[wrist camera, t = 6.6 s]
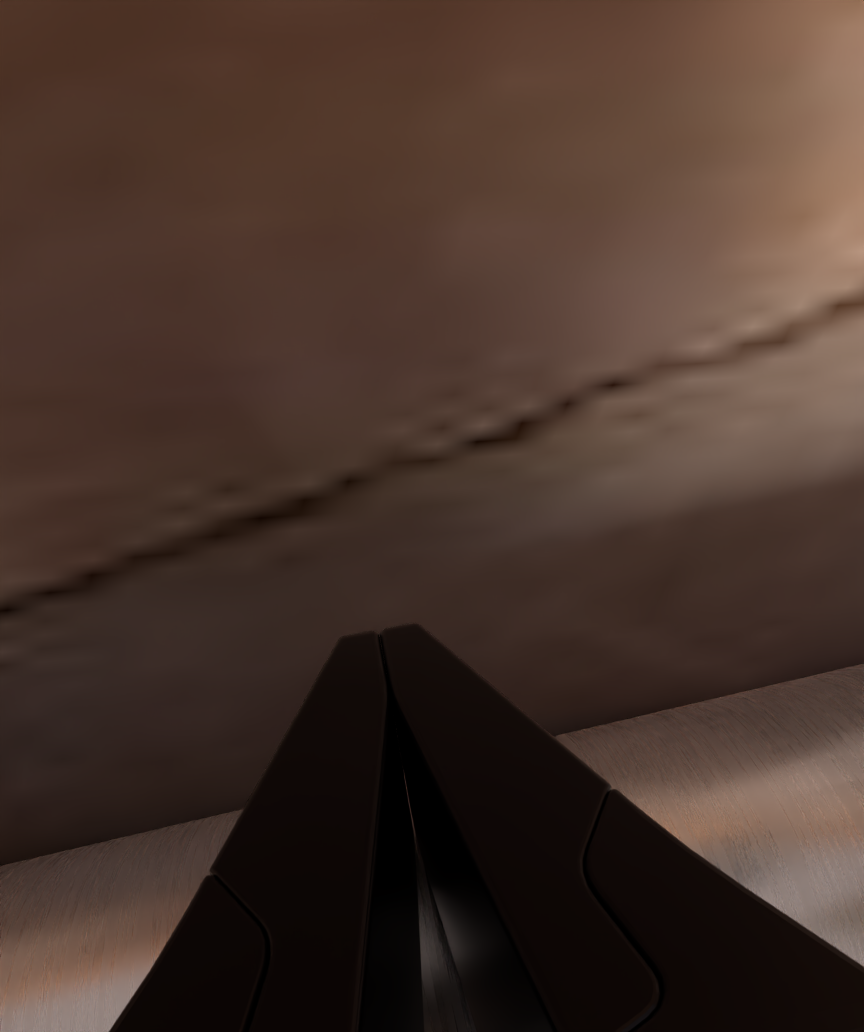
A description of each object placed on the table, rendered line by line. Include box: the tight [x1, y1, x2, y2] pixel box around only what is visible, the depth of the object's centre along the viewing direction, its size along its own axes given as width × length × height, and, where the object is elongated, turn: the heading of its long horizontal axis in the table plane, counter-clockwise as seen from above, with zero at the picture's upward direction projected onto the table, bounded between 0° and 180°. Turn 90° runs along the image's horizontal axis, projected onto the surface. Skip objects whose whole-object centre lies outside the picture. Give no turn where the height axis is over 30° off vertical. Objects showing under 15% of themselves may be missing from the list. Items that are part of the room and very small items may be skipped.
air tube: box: [0, 664, 864, 1032], centre depth 9 cm, size 22×4×4 cm
